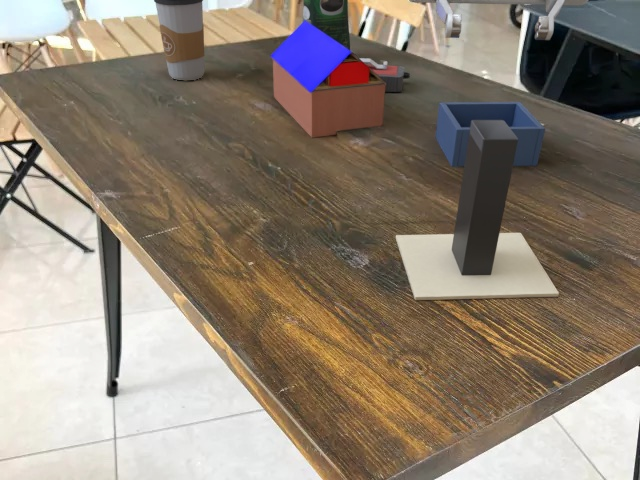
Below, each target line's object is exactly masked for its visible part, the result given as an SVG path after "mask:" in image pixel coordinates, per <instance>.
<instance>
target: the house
mask: <svg viewBox="0 0 640 480" xmlns="http://www.w3.org/2000/svg"><path fill="white" fill-rule="evenodd" d="M270 57H271V59H272V77H273V98H274V99H275V100H276V101H277V102H278V103H279V104H280V106H281V107H282V108H283V109H284V110H285V111H286V112H287V113H288V114H289V115H290V116H291V117H292V118H293V119H294V121H296V123H297V124H298V125H299V126H300V127H301V128H302V129H303V130H304V131H305V132H306V134H308V136H310V138H320V137H329V136H337V135H338V132H339V131H349V130H357V129H364V128H373V127H382V126H383V125H384V124H383V123H384V111H385V98H386V97H385V95H386V92H385V85H386V82H385V81H384V80H383V79H381V78H380V77H379V76H378V75H377V74H376V73H375V72H374V71H373V70H371V69H370V68H369V67H368V66H367V65H368V64H367V63H364V62H363V61H361V60H360V59H359V57H358V56H357V55H356V54H355V53H354V52H353V51H351V49H350V50H348V49H347V48H345V47H344V46H342V45H341V44H339V43H338V42H336V41H335V40H333V39H332V38H330V37H329V36H328V35H326V34H325V33H323V32H322V31H320V30H319V29H317V28H316V27H314V26H313V25H311V24H310V23H308V22H307V21H304V22H303V21H302V23H300V24H299V26H298V27H297V28H296V29H295V30H294V31H293V32H292V33H291V34H290V35H289V36H288V37H287V38H286V39H285V40H284V41H283V42H282V43H281V44H280V45H279V46H278V48H276V49H275V51H273V52H272V54H271V55H270Z"/></svg>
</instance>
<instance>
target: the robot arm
mask: <svg viewBox="0 0 640 480" xmlns="http://www.w3.org/2000/svg"><path fill="white" fill-rule="evenodd" d="M408 1H409V2H410V3H417V4H418V3H424V4H426V3H428V4H435V12H436V13H437V15H438V16H439V18H440V19H441V21H442V23H443V24H444V26H445V27H444V30H445V31H444V38H446V39H447V38H448V39H451V38H452V39H459V38H460V35H461V34H462V33H461V32H462V20H463V19H462V18H463V17H462V16H463V15H462V14H457V13H455V12H454V11H453V9H452V7H451V4H472V5H473V4H479V5H484V4H485V5H526V6H528V5H529V6H531V5H532V6H534V5H535V6H545V12H546V13H548V14H547V15H539V16H538V18H537V21H536V23H535V25H534V32H535V34H534V39H535V40H536V41H550V40H551V38H552V37H553V34H554V29H555V19H557V16H558V15H559V14H560V11H561V10H562V8H563V6H575V7H577V6H581V7H582V6H585V5H586V4H587V3H588V2H589V1H590V0H408Z"/></svg>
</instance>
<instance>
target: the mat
mask: <svg viewBox="0 0 640 480" xmlns="http://www.w3.org/2000/svg"><path fill="white" fill-rule="evenodd" d="M453 237H454V233H441V234H440V233H439V234H437V233H435V234H434V233H433V234H431V233H430V234H396V235H395V240H396V244H397V248H398V250H399V254H400V257H401V260H402V264H403V266H404V270H405V274H406V275H407V276H406V277H407V279H408V284H409V286H410V289H411V292H412V295H413V299H414V301H440V300H441V301H442V300H443V301H445V300H479V299H483V300H484V299H514V298H515V299H517V298H519V299H521V298H522V299H523V298H555V297H556V298H557V297H559V296H560V292H559V290H558V289H557V288H556V286H555V285H554V283H553V282H552V280H551V278H550V277H549V275H548V274H547V272H546V270H545V269H544V267H543V265H542V264H541V263H540V261H539V259H538V258H537V256H536V254H535V253H534V251H533V250H532V247H530V244H529V243H528V242H527V240H526V239H525V237H524V236H523V234H522V233H521V232H500V233H499V238H498V243H497V248H496V253H495V258H494V263H493V268H492V273H491V275H461V272H460V270H459V267H458V265H457V262H456V260H455V257H454V255H453V252H452V244H453Z"/></svg>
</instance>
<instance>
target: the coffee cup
mask: <svg viewBox="0 0 640 480" xmlns="http://www.w3.org/2000/svg"><path fill="white" fill-rule="evenodd" d="M203 1H204V0H153V2H154V3H155V7H156V8H155V9H156V14H157V18H158V23H159V25H158V26H159V31H160V37H161V41H162V48H163V52H164V58H165V61H166V66H167V71H168V75H169V76H170V78H171V77H172V78H174V79H179V80H194V81H196V80H195V79H198V80H200V79H199V78H201V77H202V76H203V77H204V74H205V31H204V30H205V29H204V13H203ZM203 77H202V78H203ZM172 78H171V79H172ZM202 78H201V79H202Z"/></svg>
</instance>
